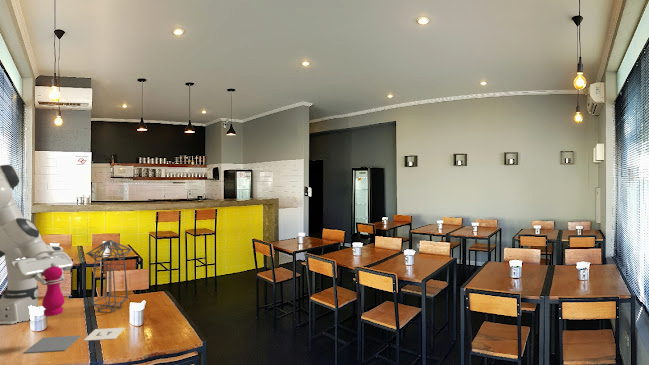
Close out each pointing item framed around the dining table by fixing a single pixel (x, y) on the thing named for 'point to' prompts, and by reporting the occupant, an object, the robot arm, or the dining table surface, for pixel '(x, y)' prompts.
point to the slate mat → (52, 344)
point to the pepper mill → (53, 291)
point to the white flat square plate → (104, 334)
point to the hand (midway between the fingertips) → (54, 282)
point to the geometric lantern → (104, 245)
